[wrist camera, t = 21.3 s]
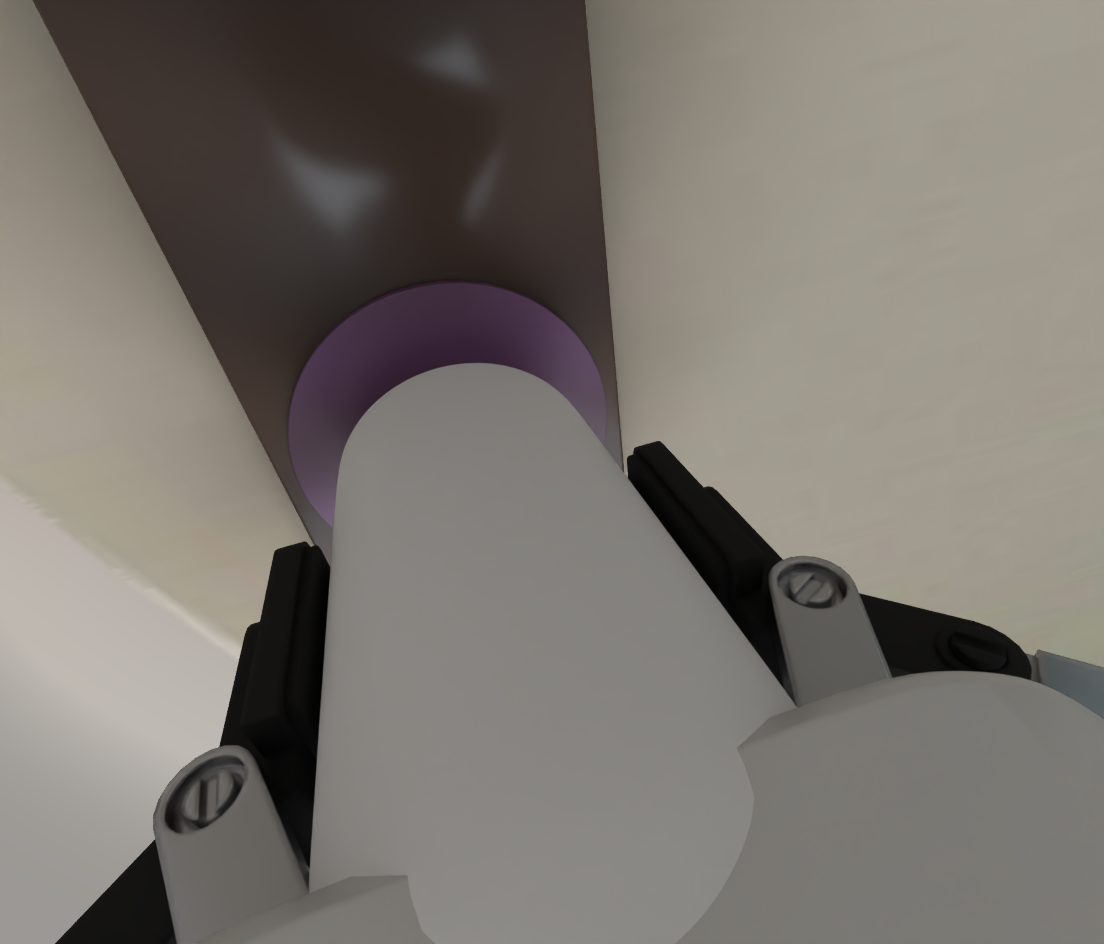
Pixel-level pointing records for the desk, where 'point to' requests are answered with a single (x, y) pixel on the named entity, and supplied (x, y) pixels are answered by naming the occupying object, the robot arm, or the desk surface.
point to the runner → (361, 198)
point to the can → (524, 679)
